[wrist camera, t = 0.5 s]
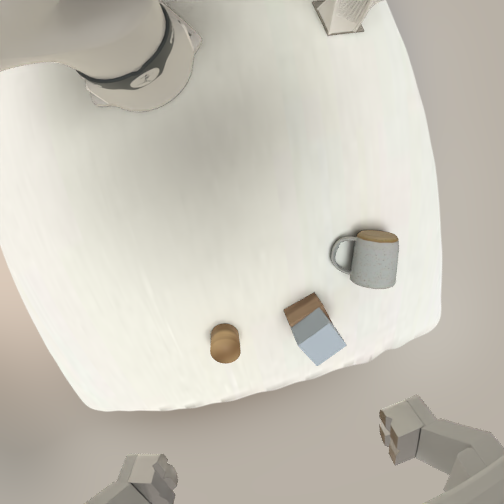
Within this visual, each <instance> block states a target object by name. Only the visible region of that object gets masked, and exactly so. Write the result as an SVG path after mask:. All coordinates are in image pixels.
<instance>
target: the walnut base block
mask: <svg viewBox="0 0 504 504" xmlns="http://www.w3.org/2000/svg"><path fill="white" fill-rule="evenodd" d="M318 307H320V309H321V310H322V311H323V313H324V314H325V315H326V316H327V318H328V319H329V320H330V318H329V316H328V314H327V312H326V310H325V308H324V306H323V304H322V303H321V301H320V300H319V298H318V297H317V296H316V294H315V293H312V294H310V295H309V296H307V297H305V298H303V299H302V300H300V301H298V302H296V303H295V304H293V305H291V306H289V307H288V308H286V309H284V312H285V315H286V317H287V320H288V322H289V325H290V326H291V327H293V326H294V325H295V324H297V323H298V322H300V321H301V320H302V319H304V318H305V317H306V316H308V315H309V314H310V313H312V312H313V311H314V310H316V309H317V308H318ZM330 322H331V320H330ZM331 323H332V322H331Z"/></svg>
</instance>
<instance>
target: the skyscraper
mask: <svg viewBox="0 0 504 504" xmlns="http://www.w3.org/2000/svg"><path fill="white" fill-rule="evenodd" d="M380 1H383V0H324V1H314V2H312V4H313V6H314V8H315V10H316V12H317V14H318V16H319V18H320V20H321V22H322V24H323V26H324V28H325V30H326V32H327V35H328V36H330V35H337V34H346V33H356V32H364V29H363V27H362V25H361V23H362V22H363V20H364V18H365V17H366V15H367V13H368V11H369V9H370V8H372V7H373V6H374V5H375V4H377V3H379V2H380Z"/></svg>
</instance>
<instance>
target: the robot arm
mask: <svg viewBox="0 0 504 504" xmlns="http://www.w3.org/2000/svg"><path fill="white" fill-rule="evenodd" d="M189 34H191V36H189ZM201 42H202V39H201V37H200V35H199V34H198V33H197V32H196V31H195V30H194V29H193V28H192V27H190V26H189V25H188V24H187V23H186V22H185V21H184V20H183V19H181V18H180V17H179V16H178V15H177V14H176V13H175V12H173V11H172V10H171V9H170V8H169V7H167V6H166V5H165V4H164V3H163V2H161V1H160V0H0V72H1V71H4V70H7V69H11V68H15V67H19V66H24V65H29V64H35V63H44V62H56V63H61V64H64V65H66V66H69V67H71V68H74V69H76V71H77V72H78V73H79V74H80V76H81V78H82V79H85V81H86V86H85V87H86V89H87V90H88V91H89V92H90V93H91V97H92V101H93V103H94V104H95V105H97V106H100V107H105V106H116V107H119V108H121V109H124V110H127V111H133V112H144V111H149V110H153V109H156V108H159V107H161V106H163V105H165V104H167V103H168V102H170V101H171V100H172V99H174V98H175V97H176V96H177V95H178V94H179V93H180V92H181V91H182V89H183V88H184V87H185V85H186V83H187V82H188V80H189V77H190V75H191V71H192V66H193V58H194V55H195V53H196V52H197V50H198V49H199V47H200V45H201ZM379 414H380V415H379V417H380V419H381V423H380V424H379V427H380V435H381V438H382V441H383V443H384V444H385V446H387V447H389V455H390V457H391V459H392V461H393V463H394V465H398V464H400V463H403V462H405V461H407V460H410V459H412V458H415V457H416V458H417V459H419V460H421V461H423V462H425V463H426V464H428V465H430V466H432V467H434V468H437V469H438V470H440V471H443V472H445V473H447V474H449V475H450V476H449V478H448V480H447V483H446V485H445V487H444V491H445V493H443V494H441V495H439V496H437V497H435V498H433V499H431V500H429V501H427V502H425V503H423V504H504V448H503V446H502V445H501V444H500V443H499V441H498V440H497V439H496V438H495V437H494V436H493V434H492V433H491V432H488V431H484V430H480V429H477V428H473V427H469V426H465V425H462V424H459V423H455V422H452V421H448V420H445V419H442V418H440V419H438V420H437V418H436V417H435V416H434V414H432V412H431V410H430V409H429V408H428V407H427V405H426V404H425V403H424V401H423V400H422V399H421V398H420V396H419V395H414V396H412V397H410V398H408V399H405V400H403V401H400V402H398V403H396V404H393V405H391V406H388V407H386V408H383V409H381V410H380V412H379ZM167 461H168V459H167V458H166V456H165V455H164V454H128V455H127V456H126V458H125V461H124V463H123V466H122V469H121V471H120V474H119V476H118V479H117V482H112V483H111V484H110V485H109V486H107V487H106V488H105V489H103V490H102V491H101V492H99V493H98V494H97V495H95V496H94V497H93V498H91V499H90V500H89V501H87V502H86V503H84V504H174V499H175V493H174V492H173V489H174V488H175V487H176V486H177V483H178V479H177V473H176V470H175V468H174V467H173V466H172V465H170V464H168V463H167Z"/></svg>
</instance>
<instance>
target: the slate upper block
mask: <svg viewBox="0 0 504 504" xmlns="http://www.w3.org/2000/svg"><path fill="white" fill-rule="evenodd" d="M291 330H292V332H293V335H294V337H295V340H296V342H297V345H298V346H299V347H300V348H301V350H302V351H303V352H304V353H305V354H306V355H307V356H308V357H309V358H310V359H311V360H312V361H313V362H314V363H315V364H316V366H318V365H320V364H321V363H323V362H324V361H325V360H327V359H328V358H330V357H331V356H333V355H334V354H335V353H337V352H338V351H340V350H341V349H342V348H344V347H345V346H346V343H345V342H344V340H343V339H342V337H341V336H340V334H339V333H338V331H337V329H336V328H335V327H334V325H333V324H332V323H331V322H330V320H329V319H328V318H327V316H326V315H325V314H324V313H323V311H322V310H321V309H320V307H318V308H317V309H316V310H314V311H313V312H312V313H310V314H309V315H308V316H306V317H305V318H304V319H302V320H301V321H300V322H298V323H297V324H295V325H294V326H293V327H291Z"/></svg>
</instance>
